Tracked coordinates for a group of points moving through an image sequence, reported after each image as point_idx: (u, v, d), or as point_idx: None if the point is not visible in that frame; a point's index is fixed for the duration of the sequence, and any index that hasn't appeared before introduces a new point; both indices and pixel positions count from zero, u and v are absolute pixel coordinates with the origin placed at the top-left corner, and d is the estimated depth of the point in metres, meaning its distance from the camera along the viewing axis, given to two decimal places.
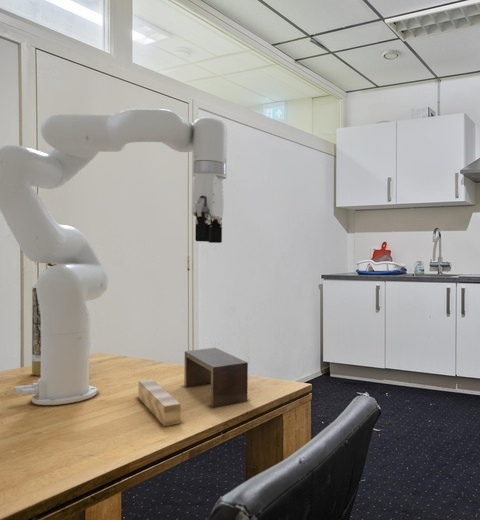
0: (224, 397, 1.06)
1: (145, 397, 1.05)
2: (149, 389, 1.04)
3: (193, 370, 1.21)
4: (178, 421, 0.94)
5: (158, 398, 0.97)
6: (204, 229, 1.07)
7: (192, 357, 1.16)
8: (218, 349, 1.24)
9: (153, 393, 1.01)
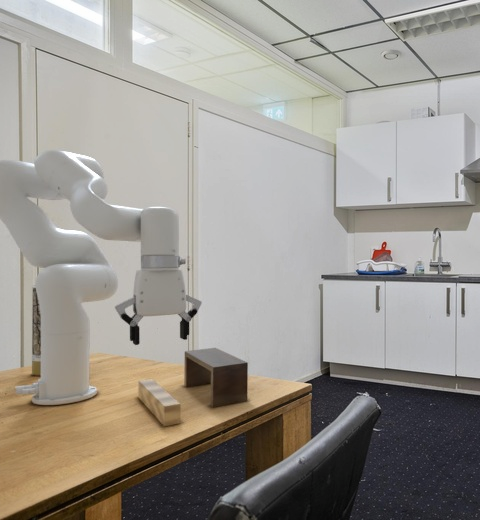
0: (224, 397, 1.06)
1: (145, 397, 1.05)
2: (149, 389, 1.04)
3: (193, 370, 1.21)
4: (178, 421, 0.94)
5: (158, 398, 0.97)
6: (131, 332, 0.98)
7: (192, 357, 1.16)
8: (218, 349, 1.24)
9: (153, 393, 1.01)
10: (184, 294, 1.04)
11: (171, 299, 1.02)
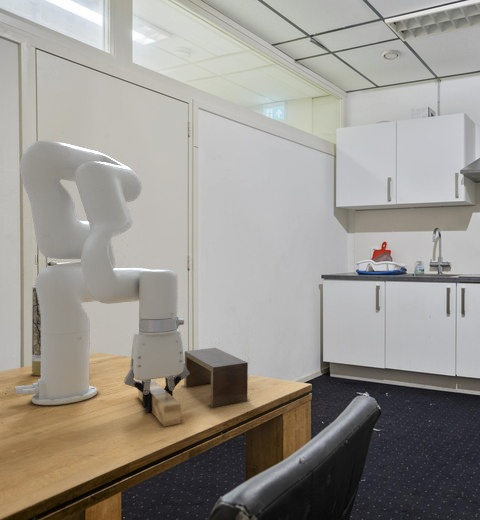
0: (224, 397, 1.06)
1: None
2: None
3: (193, 370, 1.21)
4: (178, 421, 0.94)
5: (158, 398, 0.97)
6: (144, 399, 1.00)
7: (192, 357, 1.16)
8: (218, 349, 1.24)
9: (153, 393, 1.01)
10: (182, 356, 1.04)
11: (169, 362, 1.02)
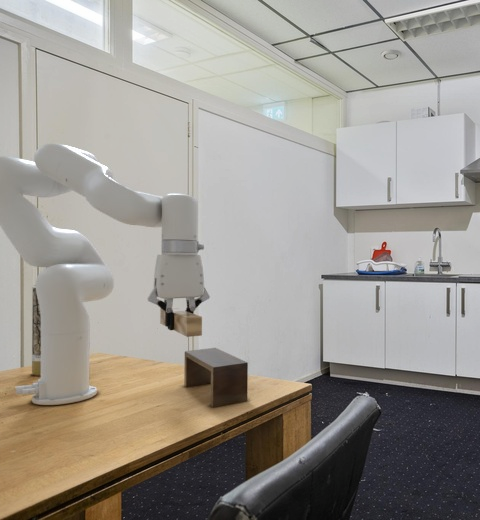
0: (224, 397, 1.06)
1: None
2: None
3: (193, 370, 1.21)
4: (200, 333, 0.98)
5: (180, 314, 1.01)
6: (166, 318, 1.04)
7: (192, 357, 1.16)
8: (218, 349, 1.24)
9: (175, 312, 1.05)
10: (202, 278, 1.08)
11: (190, 283, 1.06)
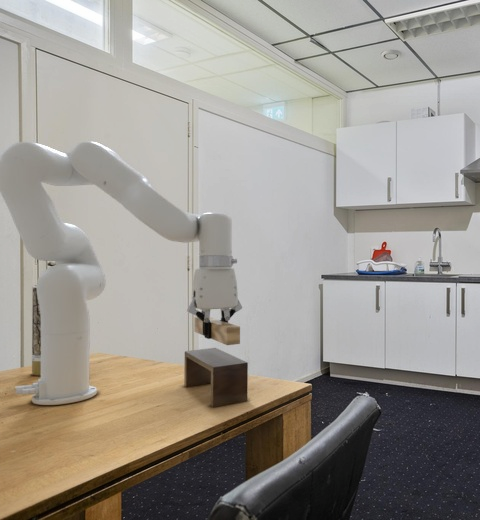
0: (224, 397, 1.06)
1: None
2: None
3: (193, 370, 1.21)
4: (238, 342, 1.07)
5: (218, 324, 1.10)
6: (204, 327, 1.13)
7: (192, 357, 1.16)
8: (218, 349, 1.24)
9: (212, 322, 1.13)
10: (236, 290, 1.16)
11: (225, 294, 1.14)
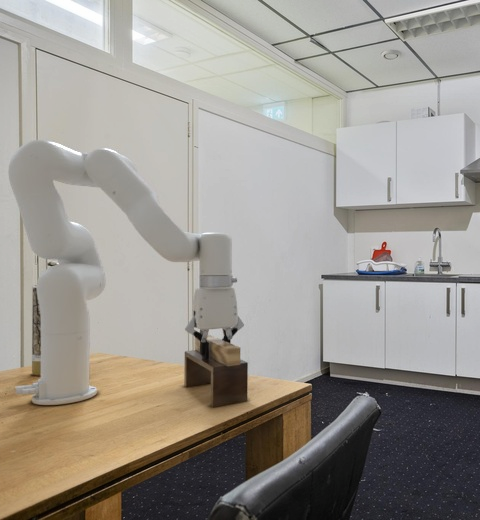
0: (224, 397, 1.06)
1: None
2: (207, 339, 1.16)
3: (193, 370, 1.21)
4: (238, 362, 1.07)
5: (219, 344, 1.10)
6: (202, 347, 1.12)
7: (192, 357, 1.16)
8: None
9: (213, 341, 1.13)
10: (236, 309, 1.16)
11: (225, 314, 1.14)
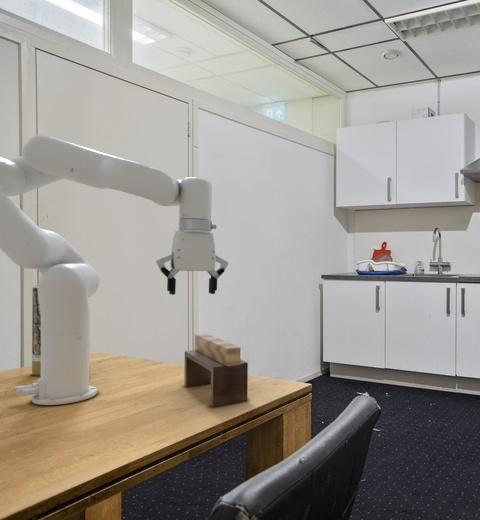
0: (224, 397, 1.06)
1: (203, 347, 1.18)
2: (207, 339, 1.16)
3: (193, 370, 1.21)
4: (238, 362, 1.07)
5: (219, 344, 1.10)
6: (168, 283, 1.15)
7: (192, 357, 1.16)
8: None
9: (213, 341, 1.13)
10: (214, 254, 1.20)
11: (203, 257, 1.18)
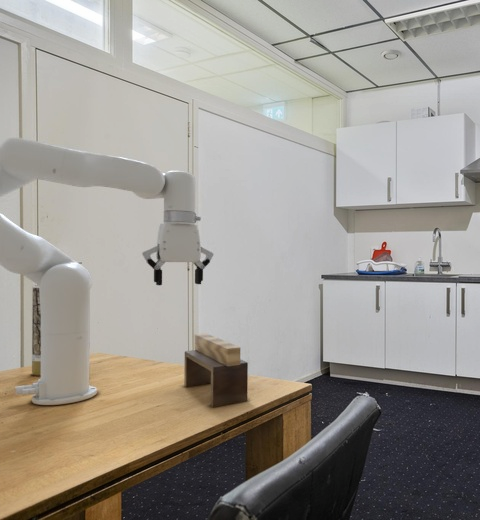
0: (224, 397, 1.06)
1: (203, 347, 1.18)
2: (207, 339, 1.16)
3: (193, 370, 1.21)
4: (238, 362, 1.07)
5: (219, 344, 1.10)
6: (155, 274, 1.18)
7: (192, 357, 1.16)
8: None
9: (213, 341, 1.13)
10: (199, 245, 1.23)
11: (188, 249, 1.21)
